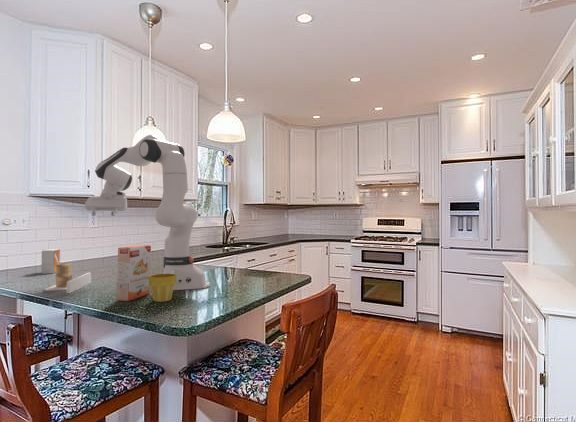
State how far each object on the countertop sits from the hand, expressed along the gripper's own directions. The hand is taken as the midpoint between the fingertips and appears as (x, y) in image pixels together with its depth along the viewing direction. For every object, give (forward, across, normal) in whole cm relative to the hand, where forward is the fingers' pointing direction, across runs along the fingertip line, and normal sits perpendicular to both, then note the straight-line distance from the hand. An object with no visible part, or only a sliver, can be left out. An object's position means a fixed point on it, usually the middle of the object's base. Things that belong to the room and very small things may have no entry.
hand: (103, 214), depth 180 cm
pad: (+37, -10, +10) cm, 40 cm away
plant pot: (+59, +38, -11) cm, 71 cm away
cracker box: (+54, +26, -7) cm, 61 cm away
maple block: (+37, -10, +10) cm, 39 cm away
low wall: (+38, -3, +9) cm, 39 cm away
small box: (+5, -36, +43) cm, 56 cm away
